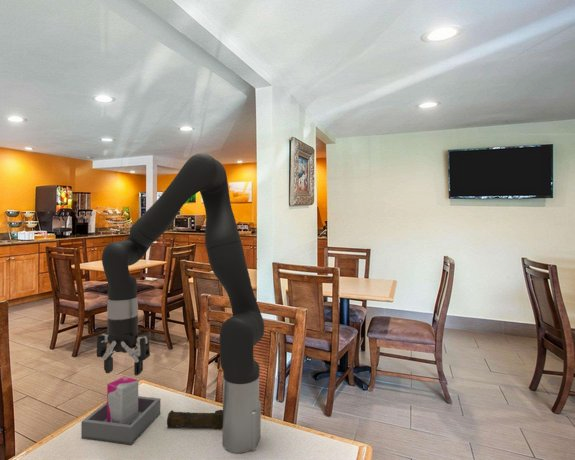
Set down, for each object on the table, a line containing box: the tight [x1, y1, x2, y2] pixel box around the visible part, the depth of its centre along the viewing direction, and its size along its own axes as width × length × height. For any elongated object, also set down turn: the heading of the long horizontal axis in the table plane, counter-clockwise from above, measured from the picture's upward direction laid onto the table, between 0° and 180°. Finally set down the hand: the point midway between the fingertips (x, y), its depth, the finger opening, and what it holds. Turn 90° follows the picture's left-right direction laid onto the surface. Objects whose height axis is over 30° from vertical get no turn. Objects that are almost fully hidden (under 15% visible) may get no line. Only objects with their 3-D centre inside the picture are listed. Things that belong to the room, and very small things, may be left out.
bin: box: [80, 395, 161, 446], centre depth 94 cm, size 14×14×4 cm
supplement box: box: [106, 376, 139, 425], centre depth 94 cm, size 6×6×12 cm
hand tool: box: [166, 409, 223, 431], centre depth 94 cm, size 19×4×5 cm, turn 86°
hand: (123, 373), depth 93 cm, fingers open, 8 cm apart
